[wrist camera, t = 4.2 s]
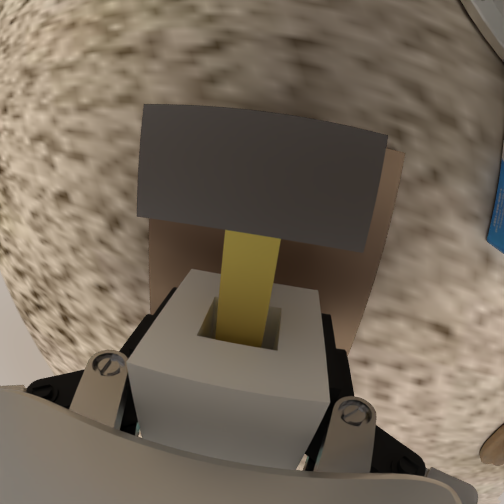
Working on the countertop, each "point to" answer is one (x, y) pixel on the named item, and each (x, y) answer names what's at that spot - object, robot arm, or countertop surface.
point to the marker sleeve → (232, 378)
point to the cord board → (265, 210)
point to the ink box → (498, 214)
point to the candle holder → (494, 449)
